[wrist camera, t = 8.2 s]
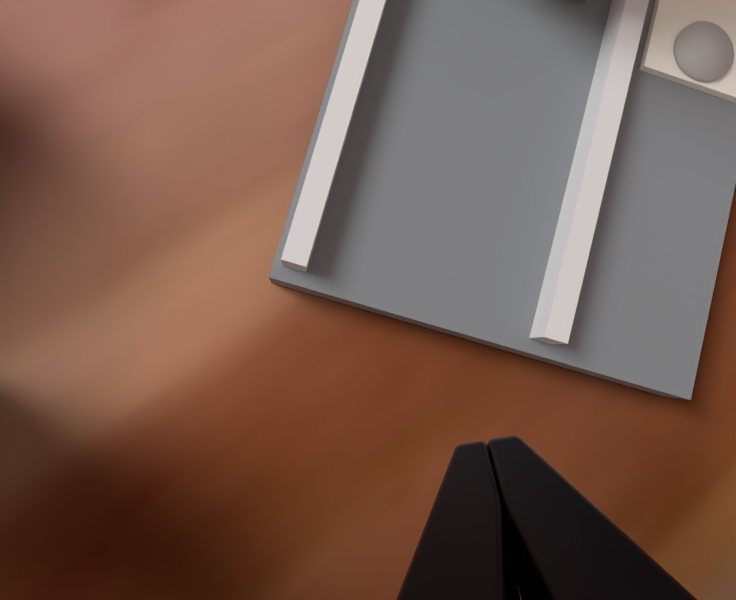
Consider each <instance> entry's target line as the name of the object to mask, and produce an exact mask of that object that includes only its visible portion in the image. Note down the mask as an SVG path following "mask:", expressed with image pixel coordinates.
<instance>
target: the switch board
mask: <svg viewBox="0 0 736 600" xmlns="http://www.w3.org/2000/svg"><path fill="white" fill-rule="evenodd" d="M735 184H736V0H590V1H589V0H353V3H352V6H351V9H350V13H349V16H348V19H347V23H346V26H345V29H344V32H343V36H342V39H341V42H340V46H339V49H338V52H337V55H336V59H335V62H334V65H333V69H332V72H331V75H330V78H329V82H328V85H327V88H326V92H325V95H324V98H323V101H322V105H321V108H320V111H319V115H318V118H317V121H316V124H315V128H314V131H313V134H312V138H311V141H310V144H309V147H308V151H307V154H306V157H305V161H304V164H303V167H302V170H301V174H300V177H299V180H298V184H297V187H296V190H295V193H294V197H293V200H292V203H291V206H290V210H289V213H288V216H287V220H286V223H285V226H284V229H283V233H282V236H281V239H280V243H279V246H278V249H277V252H276V256H275V259H274V262H273V266H272V269H271V272H270V275H269V279H270V281H271V283H274V284H277V285H281V286H284V287H288V288H291V289H294V290H298V291H301V292H305V293H308V294H312V295H315V296H319V297H322V298H325V299H329V300H332V301H336V302H339V303H343V304H346V305H350V306H353V307H356V308H360V309H363V310H367V311H370V312H374V313H377V314H380V315H384V316H387V317H391V318H394V319H398V320H401V321H405V322H408V323H411V324H415V325H418V326H422V327H425V328H429V329H432V330H436V331H439V332H442V333H446V334H449V335H453V336H456V337H460V338H463V339H467V340H470V341H473V342H477V343H480V344H484V345H487V346H491V347H494V348H497V349H501V350H504V351H508V352H511V353H515V354H518V355H522V356H525V357H528V358H532V359H535V360H539V361H542V362H546V363H549V364H553V365H556V366H559V367H563V368H566V369H570V370H573V371H577V372H580V373H584V374H587V375H590V376H594V377H597V378H601V379H604V380H608V381H611V382H614V383H618V384H621V385H625V386H628V387H632V388H635V389H639V390H642V391H645V392H649V393H652V394H656V395H659V396H663V397H670V398H677V399H685V400H691V397H692V392H693V387H694V382H695V377H696V373H697V368H698V363H699V358H700V353H701V348H702V344H703V339H704V334H705V329H706V324H707V319H708V315H709V310H710V305H711V300H712V295H713V291H714V286H715V281H716V276H717V271H718V266H719V262H720V257H721V252H722V247H723V242H724V237H725V233H726V228H727V223H728V218H729V213H730V209H731V204H732V199H733V194H734V189H735Z"/></svg>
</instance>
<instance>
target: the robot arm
mask: <svg viewBox="0 0 736 600" xmlns="http://www.w3.org/2000/svg"><path fill="white" fill-rule="evenodd" d="M518 588H519V589H518ZM519 592H520V595H519ZM520 596H521V600H697V599H696V598H695V597H694V596H693V595H692V594H691V593H689V592H688V591H687V590H686V589H685V588H684V587H683V586H682V585H681V584H680V583H678V582H677V581H676V580H675V579H674V578H673V577H672V576H671V575H670V574H669V573H668V572H666V571H665V570H664V569H663V568H662V567H661V566H660V565H659V564H658V563H657V562H655V561H654V560H653V559H652V558H651V557H650V556H649V555H648V554H647V553H646V552H645V551H643V550H642V549H641V548H640V547H639V546H638V545H637V544H636V543H635V542H634V541H632V540H631V539H630V538H629V537H628V536H627V535H626V534H625V533H624V532H623V531H622V530H620V529H619V528H618V527H617V526H616V525H615V524H614V523H613V522H612V521H611V520H609V519H608V518H607V517H606V516H605V515H604V514H603V513H602V512H601V511H600V510H599V509H597V508H596V507H595V506H594V505H593V504H592V503H591V502H590V501H589V500H588V499H586V498H585V497H584V496H583V495H582V494H581V493H580V492H579V491H578V490H577V489H575V488H574V487H573V486H572V485H571V484H570V483H569V482H568V481H567V480H566V479H565V478H563V477H562V476H561V475H560V474H559V473H558V472H557V471H556V470H555V469H554V468H552V467H551V466H550V465H549V464H548V463H547V462H546V461H545V460H544V459H543V458H542V457H540V456H539V455H538V454H537V453H536V452H535V451H534V450H533V449H532V448H531V447H529V446H528V445H527V444H526V443H525V442H524V441H523V440H522V439H521V438H519V437H517V436H509V437H503V438H497V439H492V440H490V441H489V442H488V446H487V444H486V443H485V442H483V441H480V442H474V443H468V444H462V445H459V446H457V447H456V449H455V451H454V453H453V456H452V458H451V461H450V463H449V466H448V469H447V471H446V474H445V476H444V479H443V481H442V484H441V487H440V489H439V492H438V494H437V497H436V499H435V502H434V505H433V507H432V510H431V512H430V515H429V517H428V520H427V522H426V525H425V528H424V530H423V533H422V535H421V538H420V540H419V543H418V546H417V548H416V551H415V553H414V556H413V558H412V561H411V564H410V566H409V569H408V571H407V574H406V576H405V579H404V582H403V584H402V587H401V589H400V592H399V594H398V597H397V600H520Z"/></svg>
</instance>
